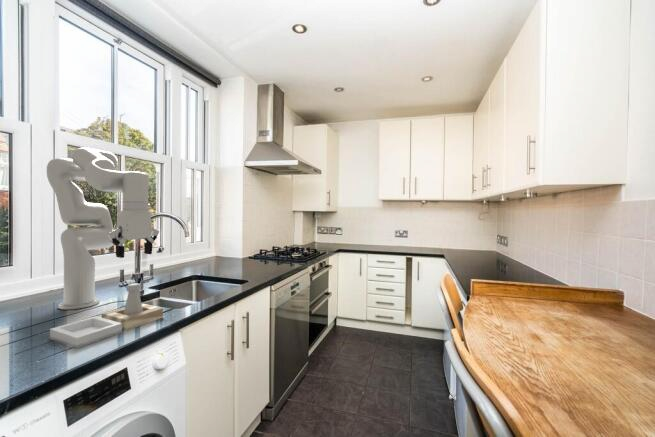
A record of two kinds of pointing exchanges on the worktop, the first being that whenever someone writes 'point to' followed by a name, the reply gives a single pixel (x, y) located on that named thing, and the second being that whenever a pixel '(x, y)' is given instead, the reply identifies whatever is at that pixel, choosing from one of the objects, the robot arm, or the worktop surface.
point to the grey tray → (85, 331)
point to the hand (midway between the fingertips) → (134, 255)
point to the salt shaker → (133, 300)
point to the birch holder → (134, 316)
